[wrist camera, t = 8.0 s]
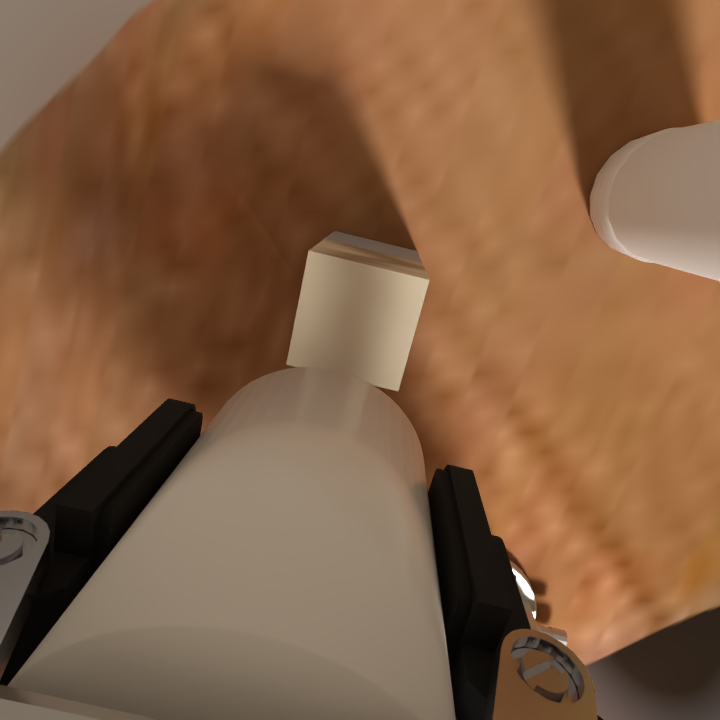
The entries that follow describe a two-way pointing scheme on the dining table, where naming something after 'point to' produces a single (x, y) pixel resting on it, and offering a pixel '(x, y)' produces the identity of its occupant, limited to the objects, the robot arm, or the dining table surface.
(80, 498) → the robot arm
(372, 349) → the tower top
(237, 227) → the dining table surface
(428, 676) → the cylinder
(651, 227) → the bottle
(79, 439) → the dining table surface
